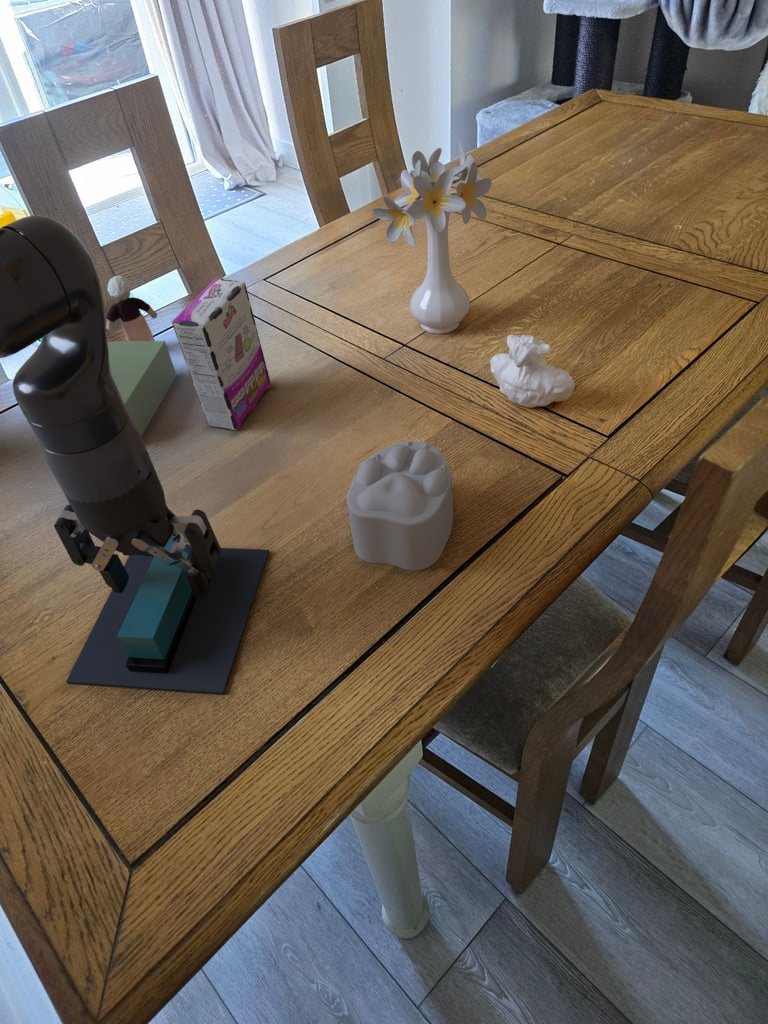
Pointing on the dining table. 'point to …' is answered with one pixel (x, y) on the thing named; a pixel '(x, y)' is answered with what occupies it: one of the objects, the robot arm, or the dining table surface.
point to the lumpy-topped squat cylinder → (402, 506)
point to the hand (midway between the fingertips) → (162, 588)
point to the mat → (203, 641)
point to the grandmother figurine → (128, 311)
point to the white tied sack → (530, 374)
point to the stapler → (157, 617)
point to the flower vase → (436, 232)
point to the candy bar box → (223, 353)
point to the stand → (141, 377)
